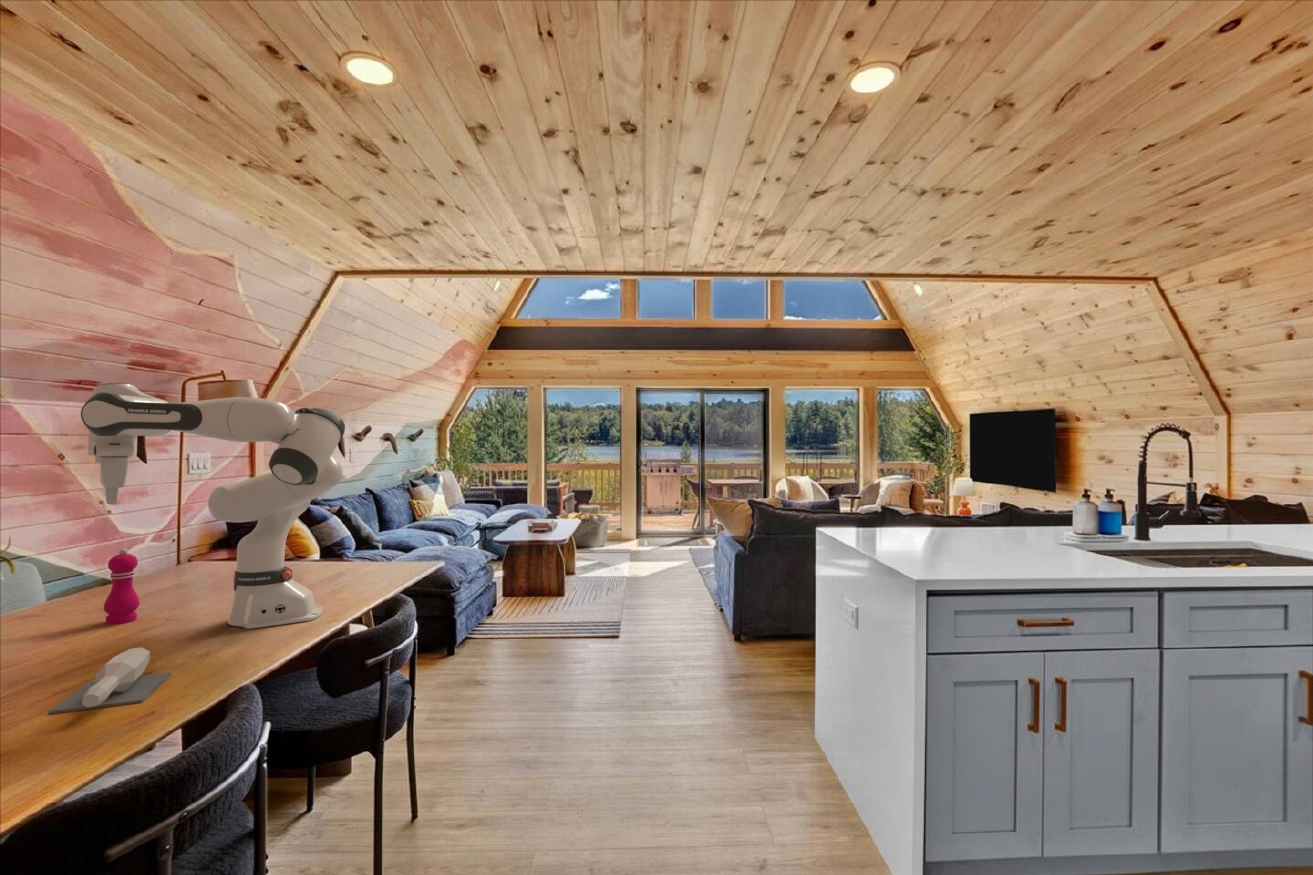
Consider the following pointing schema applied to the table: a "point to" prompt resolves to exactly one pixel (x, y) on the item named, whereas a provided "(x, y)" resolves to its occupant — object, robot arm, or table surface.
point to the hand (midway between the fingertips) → (111, 503)
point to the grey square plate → (131, 695)
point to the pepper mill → (122, 589)
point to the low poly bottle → (117, 675)
